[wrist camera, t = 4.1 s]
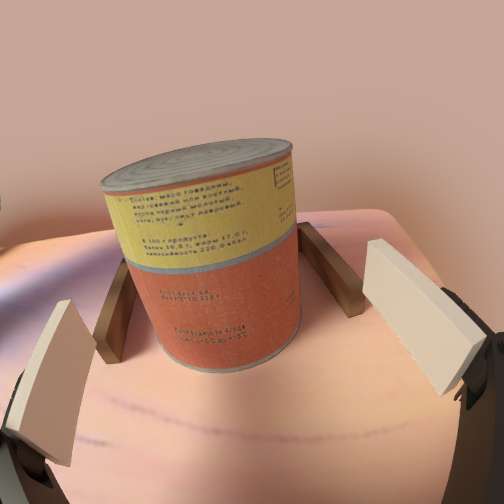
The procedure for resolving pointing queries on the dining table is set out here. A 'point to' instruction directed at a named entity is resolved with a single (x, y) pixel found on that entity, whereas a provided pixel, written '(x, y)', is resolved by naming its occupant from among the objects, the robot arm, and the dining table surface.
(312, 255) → the walnut u-shaped frame
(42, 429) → the robot arm
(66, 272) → the dining table surface
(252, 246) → the canned food
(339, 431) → the dining table surface
